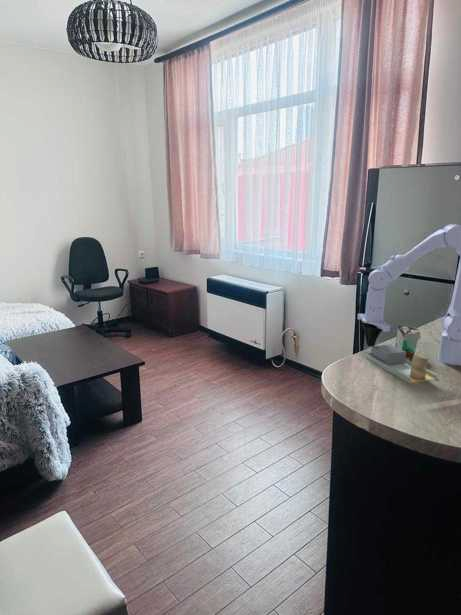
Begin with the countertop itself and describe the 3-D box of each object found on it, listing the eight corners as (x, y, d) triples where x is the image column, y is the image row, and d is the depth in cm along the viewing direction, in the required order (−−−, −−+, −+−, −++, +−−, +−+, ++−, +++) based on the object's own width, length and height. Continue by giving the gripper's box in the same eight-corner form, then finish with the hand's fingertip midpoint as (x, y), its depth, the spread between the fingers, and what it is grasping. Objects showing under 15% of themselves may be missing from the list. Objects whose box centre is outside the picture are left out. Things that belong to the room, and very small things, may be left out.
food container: (421, 365, 135) (425, 335, 132) (400, 364, 136) (404, 334, 133) (412, 352, 146) (416, 324, 144) (394, 350, 147) (397, 323, 145)
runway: (390, 357, 141) (391, 351, 141) (436, 381, 123) (437, 374, 122) (364, 360, 138) (365, 354, 137) (408, 386, 120) (409, 378, 119)
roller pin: (417, 373, 126) (420, 354, 124) (428, 379, 122) (431, 359, 120) (406, 375, 124) (409, 356, 123) (417, 380, 121) (419, 361, 119)
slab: (389, 355, 140) (391, 344, 139) (404, 363, 133) (406, 351, 132) (370, 358, 137) (371, 346, 136) (384, 366, 131) (386, 354, 130)
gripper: (351, 302, 145) (347, 339, 148) (378, 313, 131) (374, 354, 135) (368, 300, 147) (364, 338, 150) (397, 311, 134) (392, 352, 137)
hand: (370, 345), depth 143 cm, fingers closed
